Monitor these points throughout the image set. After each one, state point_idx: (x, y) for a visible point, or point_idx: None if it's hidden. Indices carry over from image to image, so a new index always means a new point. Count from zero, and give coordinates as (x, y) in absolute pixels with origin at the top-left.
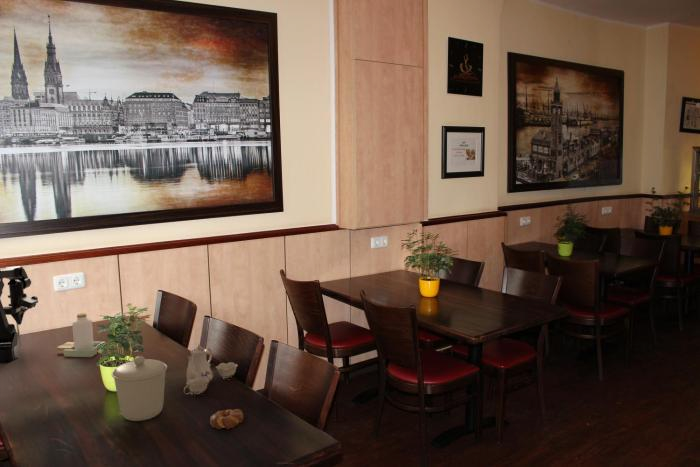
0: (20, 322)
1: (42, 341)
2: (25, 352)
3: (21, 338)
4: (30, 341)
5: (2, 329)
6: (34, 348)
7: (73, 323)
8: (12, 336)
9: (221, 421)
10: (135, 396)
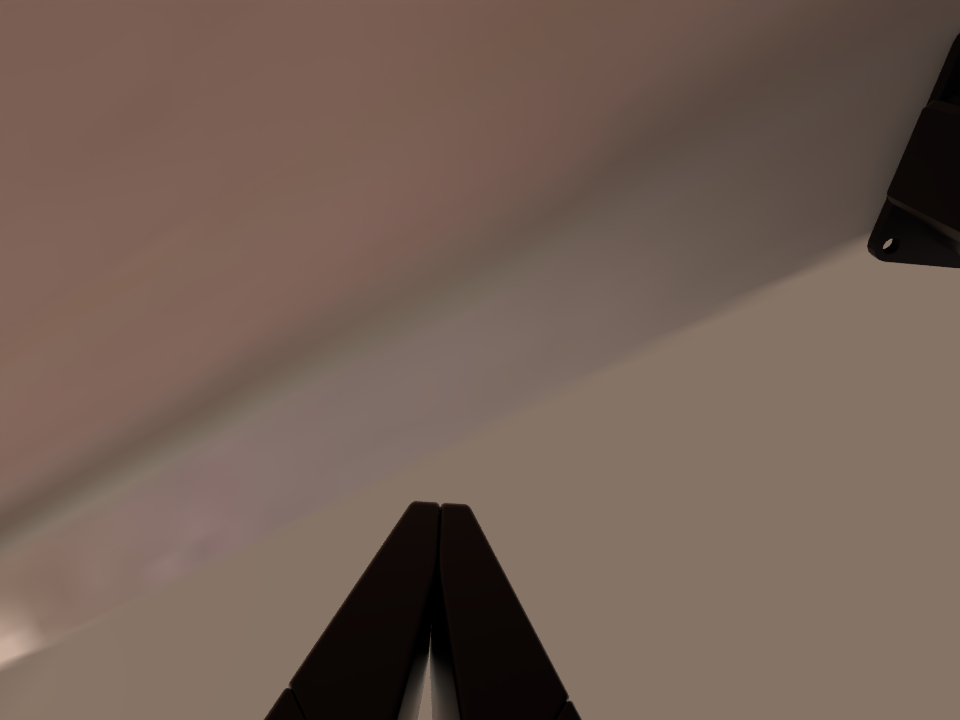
0: (457, 546)
1: (49, 106)
2: (648, 69)
3: (27, 483)
4: (105, 307)
5: None
6: (437, 25)
7: None
8: None
9: None
10: None
